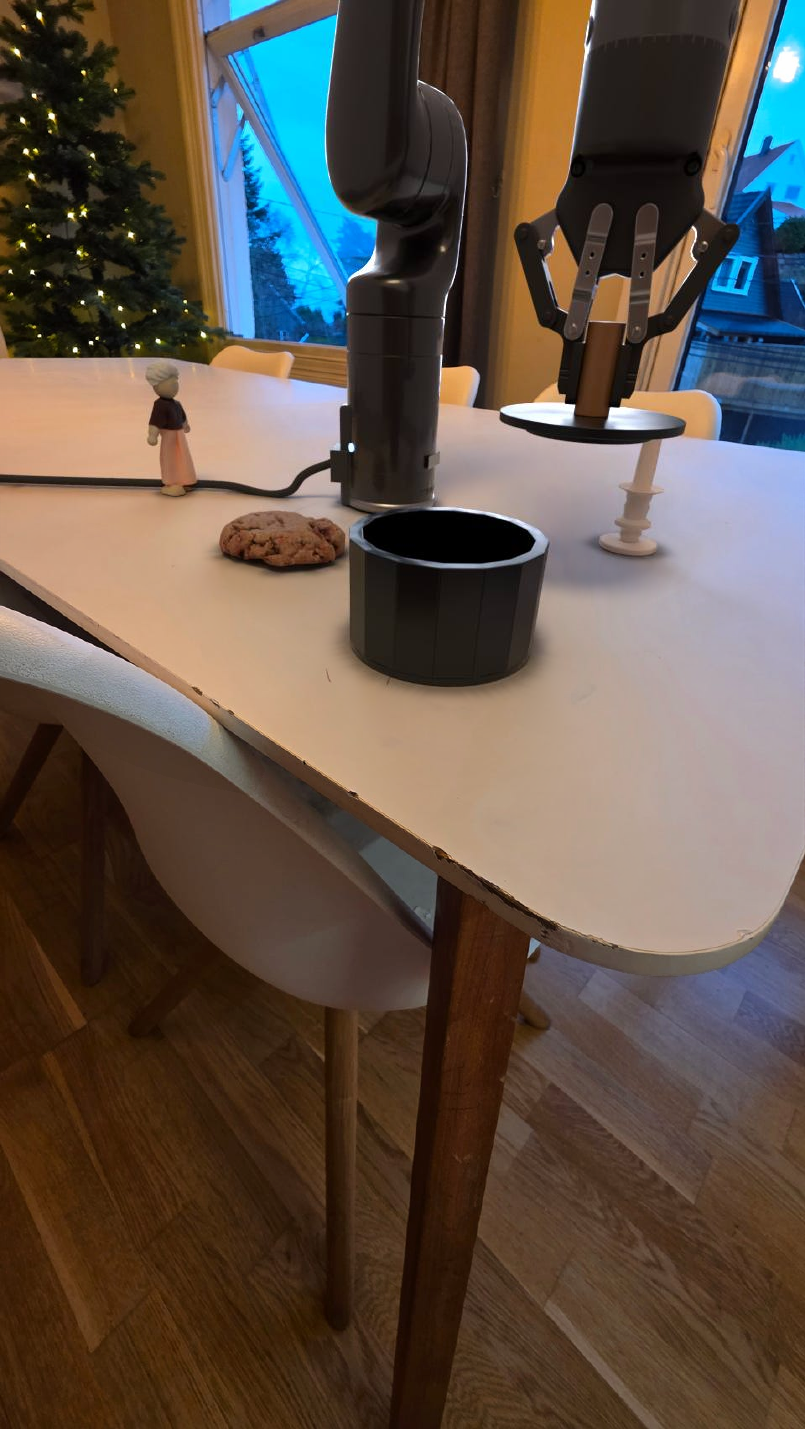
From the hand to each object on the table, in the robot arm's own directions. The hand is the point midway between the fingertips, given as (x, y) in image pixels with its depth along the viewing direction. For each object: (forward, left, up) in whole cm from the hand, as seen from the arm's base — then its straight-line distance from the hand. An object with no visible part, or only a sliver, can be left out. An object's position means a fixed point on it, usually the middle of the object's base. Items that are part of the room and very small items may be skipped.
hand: (592, 403), depth 43 cm
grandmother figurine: (-43, +11, -13) cm, 46 cm away
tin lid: (0, 0, -1) cm, 1 cm away
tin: (-6, -14, -13) cm, 20 cm away
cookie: (-23, -3, -13) cm, 27 cm away
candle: (+5, +12, -13) cm, 18 cm away
